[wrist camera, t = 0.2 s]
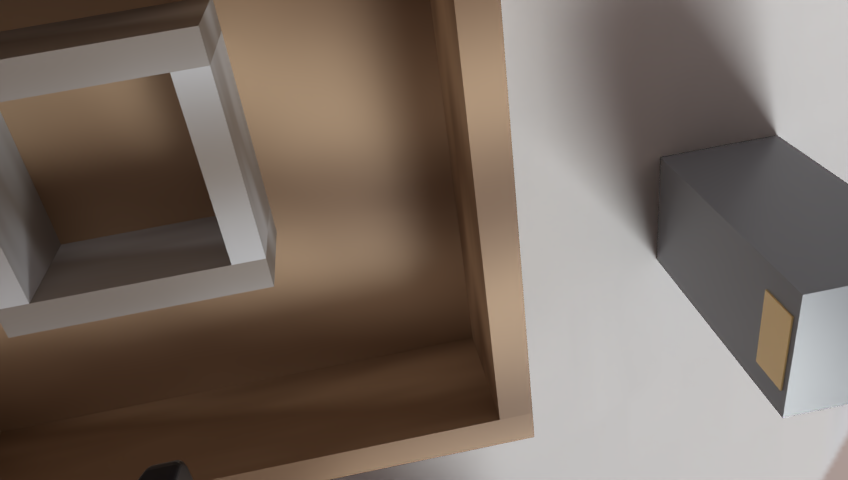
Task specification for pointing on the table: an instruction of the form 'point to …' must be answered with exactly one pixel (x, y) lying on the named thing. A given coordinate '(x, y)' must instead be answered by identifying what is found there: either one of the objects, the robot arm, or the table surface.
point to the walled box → (256, 237)
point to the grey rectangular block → (764, 263)
